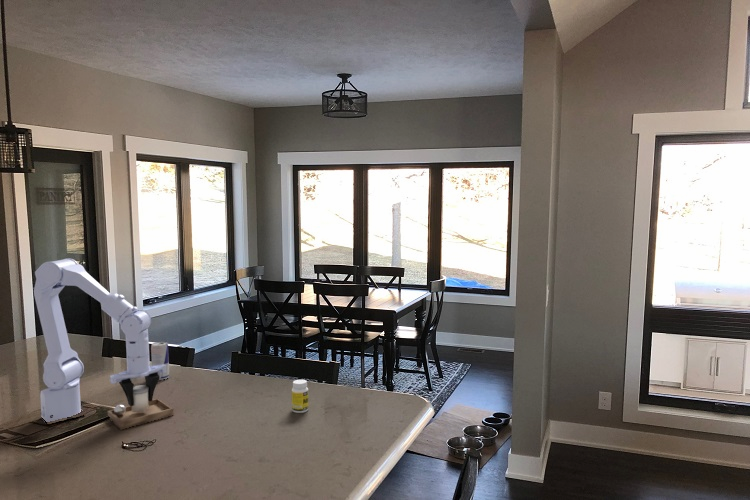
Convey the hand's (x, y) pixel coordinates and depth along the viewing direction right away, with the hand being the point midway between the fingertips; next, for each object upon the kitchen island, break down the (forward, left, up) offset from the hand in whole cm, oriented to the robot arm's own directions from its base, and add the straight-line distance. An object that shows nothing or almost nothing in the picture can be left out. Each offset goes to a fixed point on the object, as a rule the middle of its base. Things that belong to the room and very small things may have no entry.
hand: (140, 402), depth 150 cm
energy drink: (+17, +29, -4) cm, 34 cm away
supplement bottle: (+35, -27, -4) cm, 44 cm away
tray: (0, 0, -4) cm, 4 cm away
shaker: (0, 0, -2) cm, 2 cm away
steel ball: (-5, +3, -2) cm, 6 cm away
